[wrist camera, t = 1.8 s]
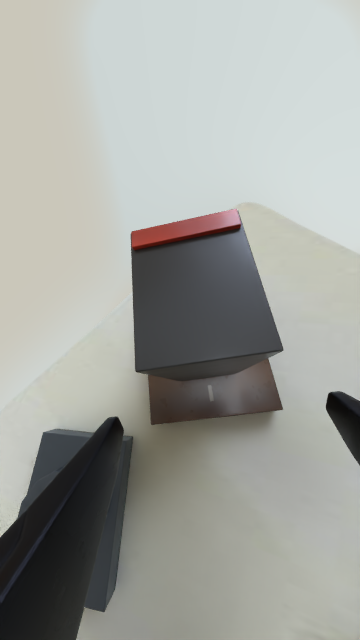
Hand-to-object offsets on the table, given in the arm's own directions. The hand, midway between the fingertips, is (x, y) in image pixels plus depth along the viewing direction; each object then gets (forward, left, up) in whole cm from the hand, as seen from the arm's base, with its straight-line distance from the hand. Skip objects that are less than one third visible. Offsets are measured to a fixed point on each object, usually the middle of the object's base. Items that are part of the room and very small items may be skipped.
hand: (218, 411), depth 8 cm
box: (+5, +1, -10) cm, 11 cm away
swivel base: (+4, +1, -12) cm, 13 cm away
